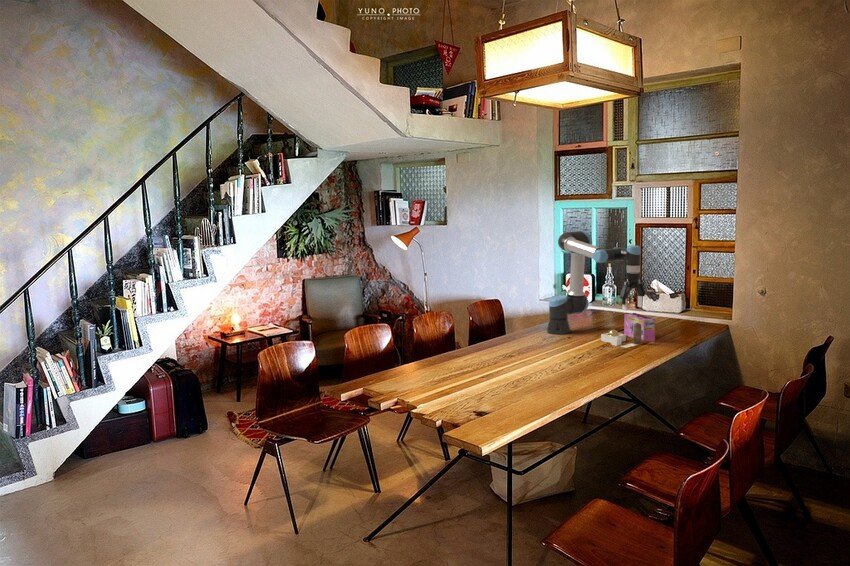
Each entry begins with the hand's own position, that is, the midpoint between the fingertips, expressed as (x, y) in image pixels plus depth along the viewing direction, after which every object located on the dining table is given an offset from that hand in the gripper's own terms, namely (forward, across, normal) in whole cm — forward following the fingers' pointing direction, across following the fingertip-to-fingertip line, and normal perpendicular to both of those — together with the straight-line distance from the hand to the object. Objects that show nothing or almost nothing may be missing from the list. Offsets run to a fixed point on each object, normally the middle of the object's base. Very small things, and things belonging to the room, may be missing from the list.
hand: (632, 308), depth 378 cm
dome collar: (+20, -5, +9) cm, 23 cm away
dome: (+20, -5, +9) cm, 22 cm away
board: (+22, -6, +4) cm, 22 cm away
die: (+20, -11, +2) cm, 23 cm away
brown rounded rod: (+20, 0, -4) cm, 20 cm away
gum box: (+22, +17, +8) cm, 29 cm away
